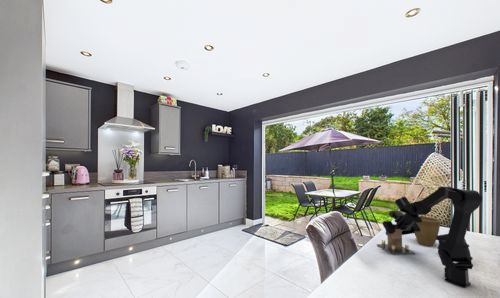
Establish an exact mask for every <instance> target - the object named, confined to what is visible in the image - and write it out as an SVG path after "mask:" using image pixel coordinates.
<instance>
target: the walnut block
mask: <svg viewBox="0 0 500 298" xmlns="http://www.w3.org/2000/svg"><path fill="white" fill-rule="evenodd" d="M392 224H393V225H396V224H395V223H392ZM386 236H387V244H388V247H389V248H391V249H392V245H395V250H402V247H403V235H402V230H396V231H395V232H394V233H393V234H390V235H386Z"/></svg>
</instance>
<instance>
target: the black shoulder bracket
mask: <svg viewBox="0 0 500 298" xmlns="http://www.w3.org/2000/svg"><path fill="white" fill-rule="evenodd" d="M447 237H448V233H446V234H445V233H444V234H438V236H436V241H438V242H439V241H440V240H446V239H447ZM463 246H464V248H465V250H466V257H467V258H468V259H469V260H470V262H471V263H472V264H473V262H472V260H473V257H472V256H471V251H470V248H469V247H470V245H469V244H468V243H467V240H466V239H465V238H464V242H463Z"/></svg>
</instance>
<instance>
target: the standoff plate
mask: <svg viewBox="0 0 500 298" xmlns="http://www.w3.org/2000/svg"><path fill="white" fill-rule="evenodd" d="M376 246H377V247H378V248H380V249H381V250H383V251H385V252H386V253H389V254H390V255H393V256H394V255H395V256H396V255H399V256H403V255H404V256H407V255H413V256H414V255H416V252H415V251H412V249H411V250H410V249H409V248H410V247H409V245H407V244H405V245H404V246H402V250H395V245H392V249H391V248H389V247H388V243H387V244H386V240H385V239H382V240H381V243H377V244H376Z"/></svg>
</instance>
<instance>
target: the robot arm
mask: <svg viewBox="0 0 500 298" xmlns="http://www.w3.org/2000/svg"><path fill="white" fill-rule="evenodd" d="M446 199H448V200H451V203H452V206H453V209H454V211H453V215H452V218H451V222H450V227H449V229H448V233H447V234H448V237H447V239H446V240H440V241H438V247H436V249H437V254H438V256H439V259H440V262H441V265H443V266H444V269H443V270H444V272H443V273H444V281H445V282H448V283H451V284H454V285H455V286H456V285H457V286H460V287H462V288H465V289H466V288H467V287H468V286H470V285H471V284H472V283H471V282H470V277H469V270H472V269H473V267H474V264H473V262H472V261H471V262H472V263H471V262H470V260H469V259H468V258H467V257H466V250H465V248H464V246H463V242H464V238H465V237H466V235H467V231H468V227H469V223H470V220H471V216H472V214H473V212H475V211H476V210H477V209H479V207H480V205H481V203H482V201H483V196H482V195H481V194H480V192H479V191H477V190H474V189H460V188H457V187H456V188H454V187H451V186H439V187H438V188H437V189H436V190H434V191H433V192H432V193H430V194H429V195H427V196H426V197H425V198H423V199H421V200H417V201H414V202H412V203H410V201H409V200H408V198H407V197H406V196H401V197H399V198H397V199H395V201H394V203H395V205H396V206H397V208H398V210H391V211H388V216H389V217H390V218H393V219H394V220H393V221H394V222H395V223H396V225H393V224H394V223H393V222H392V221H390V220H384V221H383V222H382V224H381V225H382V226H383V228H384V229H385V235H386V236H387V235H390V234H393V233H394V232H395V231H396V230H402V236H407V235H411V234H412V235H413V234H414V233H419V232H420V228H419V226H418V225H417V223H416V222H418V223H422V220H421V217H422V216H427V215H428V214H429V213H430V212H431V211H432V208H433V207H435V206H436V205H438V204H440V203H441V202H443V201H445V200H446ZM403 213H404V214H403ZM419 216H421V217H419Z"/></svg>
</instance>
